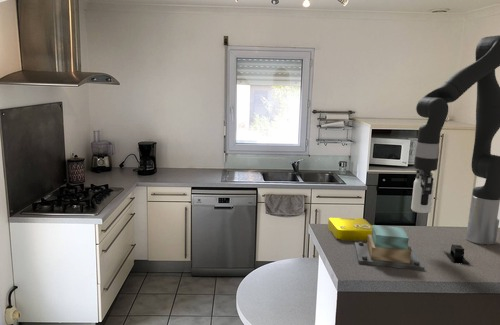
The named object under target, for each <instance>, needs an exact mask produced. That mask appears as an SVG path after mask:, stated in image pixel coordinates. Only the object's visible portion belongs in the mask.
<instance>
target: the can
mask: <svg viewBox="0 0 500 325" xmlns="http://www.w3.org/2000/svg"><path fill="white" fill-rule="evenodd" d="M421 180H422V184H423V185H424V182H423V179H419V178H418V177H416V176H415V180H414V181H413V188H412V195H411V197H412V199H411V206H410V209H411V211H412V212H414V213H417V214H430V213H431V210H432V203H433V195H434V188H435V187H434V185H435V183H434V182H433V186H432V193H431V194H430V195H429V197H428V205H421V195H422V193H421V192H422V188H421V187H420V185H421ZM426 191H428V188H426Z"/></svg>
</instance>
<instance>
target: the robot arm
mask: <svg viewBox="0 0 500 325" xmlns="http://www.w3.org/2000/svg"><path fill="white" fill-rule="evenodd" d="M499 67H500V34H499V35H492V36H491V35H490V36H485V37H482V38H481V39H480V40H479V41H477V44H476V48H475V61H474V62H472V63H470V64H469V65H466V66H465V67H464V68H461V69H460V70H458V71H456V72H455V73H453V74H452V75H451V76H450V77H449V78H448V79H447V80H445V81H444V82H443V83H442V84H441V85H440V86H439V87H437V88H435V89H433V90H432V91H430V92H428V93H427V94H425V95H424V96H423V97H421V98H420V99H419V100H418V102H417V103H416V108H415V110H416V114H417V115H419V116H420V117H421V118H426V119H427V122H426V124H423V125H421V126H419V128H418V133H417V142H416V147H415V154H414V162H413V168H414V169H415V170H416V171H415V172H416V173H415V178H416V177H418V178H419V179H423V182H424V185H423V184H422V180H421V185H420V187H421V188H422V192H421V193H422V195H421V205H428V197H429V195H430V194H431V193H432V186H433V183H434V177H433V176H432V172H435V171H437V169H438V166H439V156H440V141H441V132H442V129H443V127H444V125H445V123H446V119H447V118H448V113H449V103H454V102H455V101H457V100H458V99H459V98H461V96H462V95H464V94H465V93H466V92H467V91H468V90H469V89H470V88H472V87H473V85H475V84H476V106H475V133H474V144H473V149H472V150H473V151H472V156H471V171H472V173H473V175H474V176H476V177H479V178H481V179H485V181H484V182H485V183H484V184H483V185H482V186H475V187H474V188H473V189H472V194H471V202H470V208H469V215H468V221H467V229H466V235H465V239H466V240H467V241H469V242H471V243H475V244H478V243H479V245H483V244H487V245H486V246H491V245H496V243H497V237H498V231H499V224H500V219H499V218H498V217H499V211H500V155H497V154H496V155H495V154H492V153H491V152H492V149H491V148H492V144H493V139H494V137H495V136H496V134H497V132H498V131H499V130H500V84H499V81H498V80H497V77H496V69H498V68H499ZM426 188H428V191H426ZM490 244H491V245H490Z"/></svg>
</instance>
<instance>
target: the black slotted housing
mask: <svg viewBox="0 0 500 325" xmlns="http://www.w3.org/2000/svg"><path fill="white" fill-rule="evenodd" d="M444 254H445V255H446V257H447V258H448V259H449V260H450V262H451V263H452V264H459V263H460V264H461V263H462V264H461V265H469V264H470V262H469V261H468V260H467V259H466V258H465V257H464V256H465V248H464V247H463V246H462V245H461V244H459V245H458V244H451V247H450V251H449V252H448V251H444ZM465 259H466V260H467V261H468V262H467V261H466V260H465Z"/></svg>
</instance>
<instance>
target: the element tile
mask: <svg viewBox="0 0 500 325" xmlns="http://www.w3.org/2000/svg"><path fill="white" fill-rule="evenodd" d="M327 229H328V230H329V232H330V233H331V232H332V233H333V234H332V233H331V234H332V235H333V236H335V237H336V238H338V239H341V240H340V241H360V242H364V241H365V242H366V241H367V239H368V235H371V234H372V224H370V222H368V221H367V220H366V219H364V218H362V217H329V218H328V222H327ZM335 237H334V238H335ZM336 238H335V239H336ZM338 239H337V240H338Z"/></svg>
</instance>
